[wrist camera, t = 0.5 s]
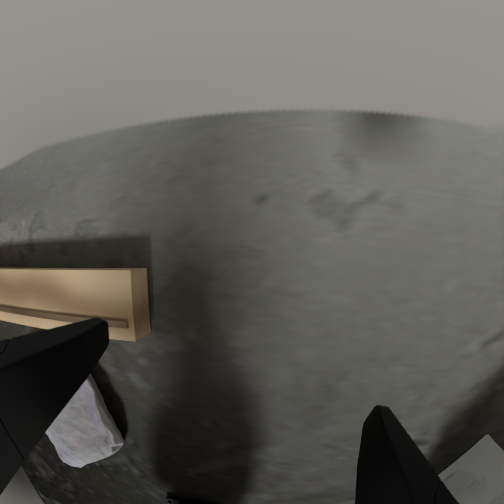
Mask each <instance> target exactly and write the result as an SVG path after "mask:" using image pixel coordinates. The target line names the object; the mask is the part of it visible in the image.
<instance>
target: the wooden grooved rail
mask: <svg viewBox="0 0 504 504" xmlns="http://www.w3.org/2000/svg"><path fill="white" fill-rule="evenodd" d="M95 317H99V318H101V319H103V320H106V321H107V322H108V325H109V339H117V340H125V341H135V342H136V341H138V340H140V339H141V338H143V337H145V336H147V335H148V334H150V333H151V327H150V315H149V301H148V284H147V268H0V320H3V321H8V322H13V323H17V324H22V325H27V326H32V327H38V328H43V329H51V328H55V327H59V326H64V325H68V324H72V323H76V322H80V321H83V320H87V319H91V318H95Z"/></svg>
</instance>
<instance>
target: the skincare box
mask: <svg viewBox="0 0 504 504" xmlns="http://www.w3.org/2000/svg"><path fill="white" fill-rule="evenodd" d="M438 476H439V477H440V481H441V480H442V481H443V483H444V484H445V486H446V487H447V488H448V490H449V491H450V492H451V494H452V495H453V496H454V498H455V499H456V500H457V501H458V502H459V504H504V451H503V450H502V449H501V448H500V447H499V446H498V445H497V444H496V443H495V442H494V440H493V439H492V438H491V436H490V435H489V434H486V435H485V436H484V437H483V438H482V439H481V440H479V441H478V442H477V443H476V444H475V445H474V446H473V447H472V448H471V449H469V450H468V451H467V452H466V453H465V454H464V455H462V456H461V457H460V458H459V459H458V460H456V461H455V462H454V463H453V464H451V465H450V466H449V467H448V468H446V469H445V470H444V471H442V472H441V473H440V474H439V475H438Z"/></svg>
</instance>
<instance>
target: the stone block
mask: <svg viewBox="0 0 504 504" xmlns="http://www.w3.org/2000/svg"><path fill="white" fill-rule="evenodd" d="M45 433H46V434H47V435H48V436H49V439H50V441H51V442H52V443H53V444H54V445H55V447H56V450H57V453H58V455H59V457H60V459H61V460H62V461H63V462H65V463H66V464H68V465H71V466H74V467H80V468H81V467H83V466H84V465H86V464H88V463H92V462H95V461H98V460H100V459H103V458H106V457H109V456H111V455H112V454H114V453H116V452H117V451H118V450H119V449H120V448H121V447H122V446H123V444H124V440H123V438H122V435H121V432H120V431H119V430H118V428H117V427H116V424H115V422H114V420H113V418H112V416H111V414H110V413H109V412H108V410H107V407H106V405H105V403H104V399H103V396H102V394H101V393H100V391H99V389H98V387H97V384H96V382H95V381H94V379H93V377H92V375H91V374H90V375H89V377H88V378H87V379H86V381H85V382H84V383H83V385H82V386H81V387H80V388H79V390H78V391H77V392H76V393H75V395H74V396H73V397H72V398H71V400H70V401H69V402H68V404H67V405H66V406H65V407H64V409H63V410H62V411H61V413H60V414H59V415H58V416H57V418H56V419H55V420H54V422H53V423H52V424H51V426H50V427H49V428H48V430H47V431H46V432H45Z"/></svg>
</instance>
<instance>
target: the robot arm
mask: <svg viewBox="0 0 504 504" xmlns="http://www.w3.org/2000/svg"><path fill="white" fill-rule="evenodd" d="M108 344H109V325H108V322H107V321H106V320H103V319H101V318H99V317H95V318H91V319H87V320H83V321H80V322H76V323H72V324H68V325H64V326H59V327H55V328H51V329H47V330H43V331H39V332H35V333H31V334H26V335H22V336H18V337H14V338H11V339H5V340H1V341H0V495H1V493H2V492H3V490H4V489H5V488H6V486H7V485H8V483H9V482H10V480H11V479H12V477H13V476H14V475H15V473H16V472H17V471H18V469H19V468H20V466H21V465H22V464H23V462H24V461H25V460H24V459H26V458H27V456H28V455H29V454H30V452H31V451H32V450H33V448H34V447H35V446H36V444H37V443H38V442H39V440H40V439H41V438H42V436H43V435H44V434H45V432H46V431H47V430H48V428H49V427H50V426H51V424H52V423H53V422H54V420H55V419H56V418H57V416H58V415H59V414H60V413H61V411H62V410H63V409H64V407H65V406H66V405H67V404H68V402H69V401H70V400H71V398H72V397H73V396H74V395H75V393H76V392H77V391H78V390H79V388H80V387H81V386H82V385H83V383H84V382H85V381H86V379H87V378H88V377H89V375H90V374H91V372H92V370H93V369H94V367H95V366H96V364H97V362H98V361H99V359H100V358H101V356H102V355H103V353H104V351H105V350H106V348H107V347H108ZM165 502H166V504H209V503H202V502H196V501H190V500H185V499H180V498H175V497H170V496H168V497H166V499H165ZM355 504H459V502H458V501H457V500H456V499H455V498H454V496H453V495H452V494H451V492H450V491H449V490H448V488H447V487H446V486H445V484H444V483H443V481H442V480H441V481H440V477H439V476H438V475H437V473H436V472H435V470H434V469H433V468H432V466H431V465H430V463H429V462H428V461H427V459H426V458H425V456H424V455H423V454H422V452H421V451H420V450H419V448H418V447H417V445H416V444H415V443H414V441H413V440H412V439H411V437H410V436H409V434H408V433H407V432H406V430H405V429H404V428H403V426H402V425H401V423H400V422H399V421H398V419H397V418H396V417H395V415H394V414H393V413H392V411H391V410H390V409H389V407H387V406H381V405H376V406H375V407H374V408H373V410H372V411H371V413H370V414H369V416H368V417H367V419H366V420H365V422H364V424H363V429H362V437H361V444H360V451H359V457H358V464H357V479H356V497H355Z"/></svg>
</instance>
